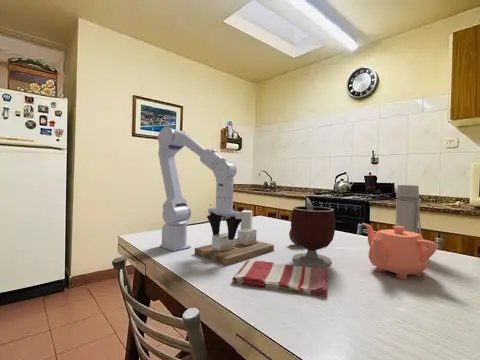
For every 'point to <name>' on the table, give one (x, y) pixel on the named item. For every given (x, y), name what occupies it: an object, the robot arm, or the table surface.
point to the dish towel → (283, 277)
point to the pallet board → (234, 252)
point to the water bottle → (408, 208)
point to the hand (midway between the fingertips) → (223, 237)
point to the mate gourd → (312, 233)
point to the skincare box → (246, 219)
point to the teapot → (399, 251)
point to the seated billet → (247, 237)
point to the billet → (221, 243)
